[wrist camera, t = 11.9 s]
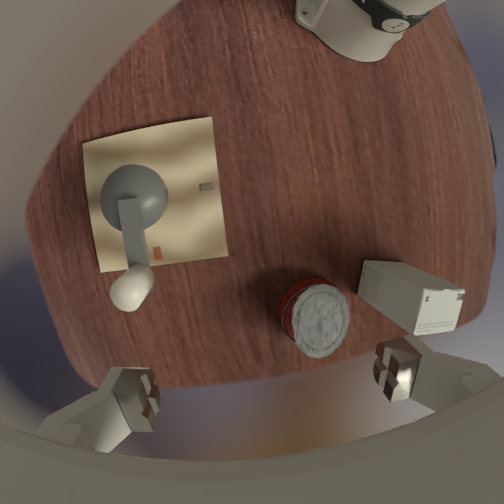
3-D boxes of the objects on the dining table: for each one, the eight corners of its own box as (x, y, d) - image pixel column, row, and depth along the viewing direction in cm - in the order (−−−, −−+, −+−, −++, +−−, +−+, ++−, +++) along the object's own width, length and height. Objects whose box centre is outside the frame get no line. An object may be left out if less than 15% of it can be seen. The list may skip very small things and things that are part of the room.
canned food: (276, 284, 46) (281, 271, 36) (338, 281, 45) (358, 268, 36) (278, 356, 43) (283, 363, 33) (342, 351, 42) (363, 356, 33)
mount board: (87, 145, 34) (63, 138, 27) (212, 119, 35) (209, 104, 28) (104, 269, 38) (84, 285, 31) (227, 253, 39) (229, 267, 32)
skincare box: (355, 295, 42) (407, 339, 28) (363, 256, 41) (422, 288, 27) (398, 295, 43) (454, 334, 29) (406, 260, 42) (468, 289, 28)
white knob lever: (163, 160, 29) (143, 151, 21) (180, 278, 32) (167, 308, 24) (104, 172, 28) (69, 168, 20) (122, 285, 31) (95, 313, 23)
